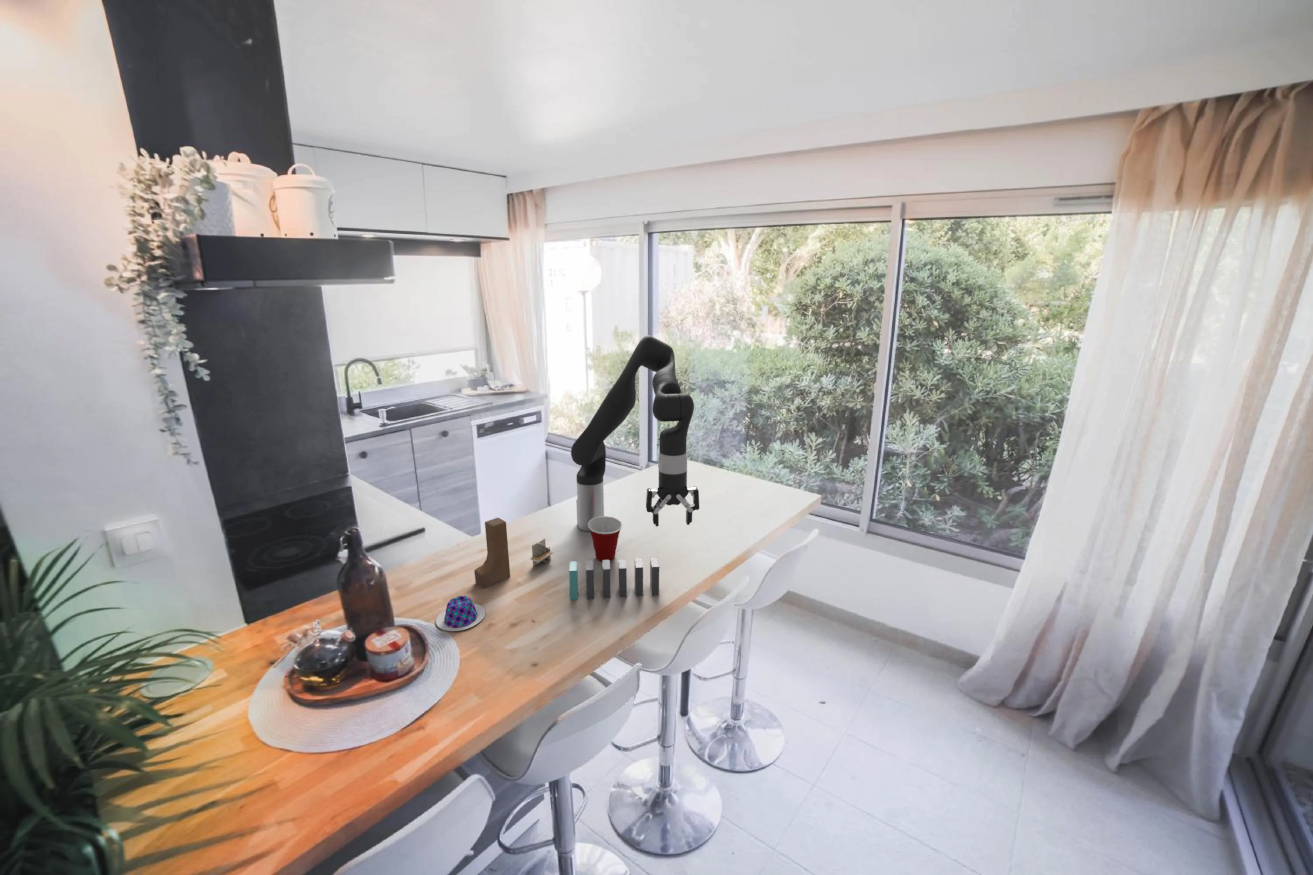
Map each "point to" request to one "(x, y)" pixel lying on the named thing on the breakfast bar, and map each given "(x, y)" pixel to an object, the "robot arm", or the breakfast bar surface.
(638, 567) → the domino
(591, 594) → the domino
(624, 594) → the domino
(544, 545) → the architectural model
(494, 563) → the wooden block
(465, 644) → the breakfast bar surface
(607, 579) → the domino
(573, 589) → the domino
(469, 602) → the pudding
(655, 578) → the domino
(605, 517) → the plastic cup
